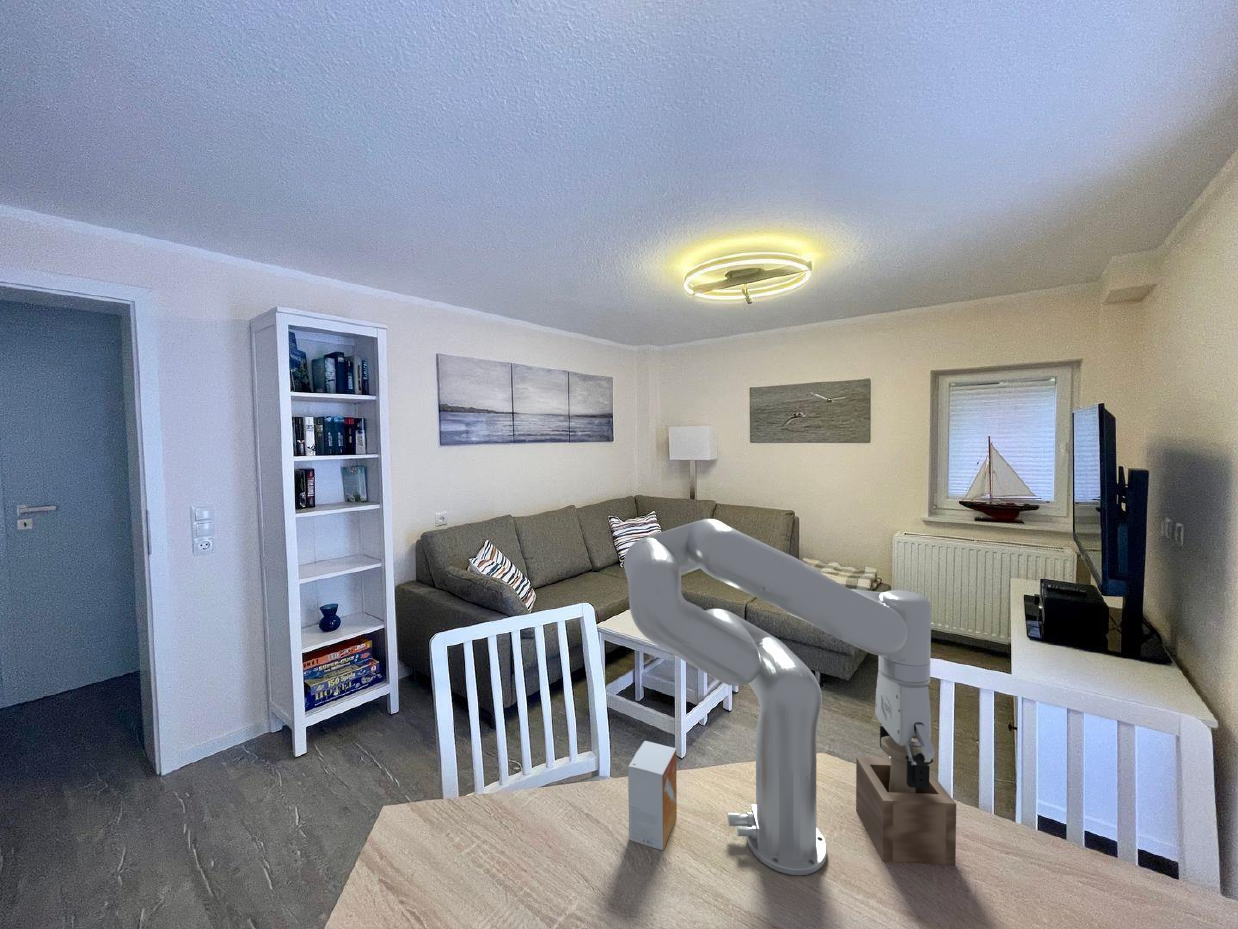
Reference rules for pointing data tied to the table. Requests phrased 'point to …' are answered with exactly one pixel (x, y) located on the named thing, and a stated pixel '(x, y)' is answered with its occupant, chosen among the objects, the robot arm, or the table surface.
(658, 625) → the robot arm
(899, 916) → the table surface
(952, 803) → the sleeve
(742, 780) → the table surface
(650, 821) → the small box
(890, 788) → the handle
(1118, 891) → the table surface
